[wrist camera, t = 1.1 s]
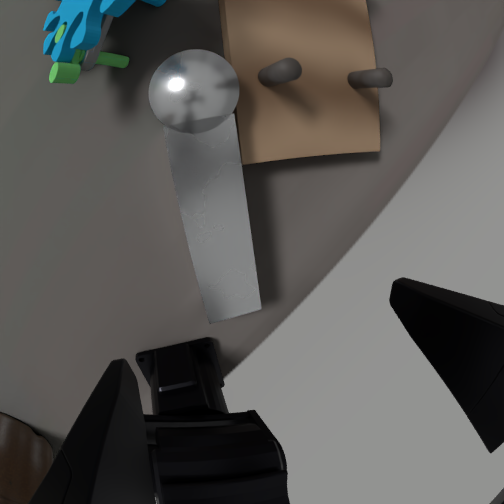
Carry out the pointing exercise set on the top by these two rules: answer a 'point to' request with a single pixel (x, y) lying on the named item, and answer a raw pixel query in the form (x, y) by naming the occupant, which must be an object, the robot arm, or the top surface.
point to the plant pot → (21, 461)
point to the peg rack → (303, 77)
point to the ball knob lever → (208, 176)
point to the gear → (83, 36)
